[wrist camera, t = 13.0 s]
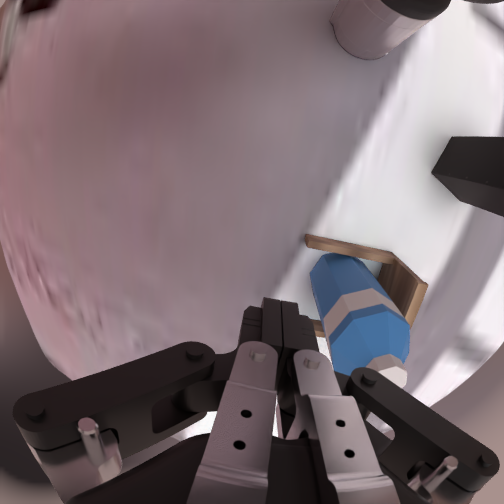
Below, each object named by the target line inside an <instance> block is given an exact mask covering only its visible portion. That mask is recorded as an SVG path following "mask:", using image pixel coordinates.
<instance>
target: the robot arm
mask: <svg viewBox="0 0 504 504" xmlns="http://www.w3.org/2000/svg"><path fill="white" fill-rule="evenodd" d="M464 1H468V2H473V3H482V4H491V3H498V2H502V1H504V0H464ZM450 2H451V0H339V2H338V4H337V6H336V9H335V11H334V13H333V15H332V17H331V19H330V22H331V23H332V25H333V26H334V31H335V35H336V38H337V40H338V42H339V43H340V45H341V46H342V47H343V48H344V49H345V50H346V51H347V52H349V53H350V54H352V55H354V56H356V57H358V58H361V59H366V60H374V59H379V58H381V57H383V56H384V55H385V54H387V53H389V52H390V51H391V50H392V49H393V48H395V47H396V46H397V45H399V44H400V43H401V42H403V41H404V40H405V39H407V38H408V37H409V36H411V35H412V34H413V33H415V32H416V31H417V30H419V29H420V28H421V27H423V26H424V25H425V24H427V23H428V22H430V21H431V20H432V19H434V18H435V17H437V16H438V15H439V14H441V13H442V12H443V11H445V10H446V9H447V7H448V6H449V4H450ZM314 330H315V329H314V325H313V322H312V321H311V320H310V319H309V317H308V316H305V315H299V309H298V304H297V303H293V302H287V301H282V300H281V301H280V300H276V299H271V298H266V297H264V298H263V301H262V305H261V308H259V307H254V306H249V307H248V308H247V309H246V310H245V311H244V315H243V320H242V325H241V330H240V335H239V340H238V346H237V348H236V349H235V350H234V351H232V352H230V353H226V354H215V352H214V351H213V349H212V348H210V347H209V346H207V345H205V344H203V343H200V342H192V341H190V342H184V343H180V344H178V345H175V346H173V347H170V348H167V349H164V350H162V351H159V352H156V353H154V354H151V355H148V356H145V357H142V358H140V359H137V360H134V361H131V362H128V363H125V364H122V365H120V366H117V367H114V368H111V369H108V370H105V371H102V372H99V373H96V374H93V375H89V376H86V377H83V378H80V379H77V380H74V381H71V382H68V383H64V384H61V385H57V386H54V387H51V388H48V389H44V390H41V391H37V392H34V393H30V394H27V395H24V396H22V397H21V398H20V399H18V401H17V402H16V403H15V405H14V407H13V417H14V420H15V422H16V424H17V426H18V427H19V429H20V431H21V433H22V435H23V437H24V439H25V440H26V442H27V444H28V446H29V448H30V449H31V451H32V453H33V454H34V456H35V458H36V459H37V461H38V463H39V464H40V466H41V467H42V469H43V471H44V472H45V473H46V475H47V476H48V477H49V479H50V481H51V482H52V484H53V486H54V488H55V490H56V491H57V493H58V495H59V497H60V498H61V500H62V501H63V503H64V504H469V503H470V502H471V500H472V498H473V496H474V495H475V494H476V493H477V492H478V491H479V490H480V489H481V488H482V487H483V486H484V485H485V484H486V483H487V482H488V481H489V480H490V479H491V478H492V477H493V476H494V475H495V474H496V473H497V472H498V470H499V466H500V464H499V460H498V457H497V456H496V454H495V453H494V452H493V451H492V450H490V449H489V448H488V447H486V446H485V445H483V444H482V443H480V442H479V441H477V440H476V439H474V438H473V437H471V436H469V435H468V434H467V433H465V432H464V431H462V430H461V429H459V428H458V427H456V426H455V425H453V424H452V423H450V422H449V421H448V420H446V419H445V418H443V417H442V416H440V415H439V414H437V413H436V412H434V411H433V410H432V409H430V408H429V407H427V406H426V405H424V404H423V403H421V402H420V401H419V400H417V399H416V398H414V397H413V396H411V395H410V394H409V393H407V392H406V391H404V390H403V389H402V388H400V387H399V386H397V385H396V384H394V383H393V382H392V381H390V380H389V379H387V378H386V377H385V376H383V375H382V374H380V373H379V372H377V371H376V370H373V369H371V368H366V367H359V368H356V369H354V370H353V371H352V373H351V375H350V376H348V375H345V374H342V373H339V372H336V371H334V370H333V368H332V365H331V362H330V360H329V359H328V358H327V357H326V356H325V355H323V354H322V353H320V352H319V348H318V343H317V338H316V334H315V331H314ZM276 396H277V402H278V404H277V406H276ZM275 406H276V418H277V428H278V437H275V436H272V432H273V423H274V415H275ZM211 411H217V415H216V418H215V421H214V424H213V427H212V430H211V433H206V434H201V435H196V436H193V437H190V438H188V439H185V440H183V441H181V442H179V443H177V444H176V445H174V446H172V447H170V448H169V449H167V450H165V451H164V452H162V453H160V454H158V455H157V456H155V457H153V458H151V459H149V460H148V461H146V462H144V463H142V464H140V465H139V466H137V467H135V468H133V469H131V470H129V471H127V472H125V473H123V474H121V475H119V476H117V477H115V476H116V475H118V474H119V472H120V470H121V468H122V459H124V458H127V457H129V456H131V455H133V454H135V453H137V452H140V451H142V450H143V449H146V448H148V447H150V446H152V445H154V444H156V443H158V442H160V441H162V440H164V439H166V438H168V437H170V436H172V435H174V434H175V433H177V432H179V431H181V430H183V429H185V428H187V427H188V426H190V425H192V424H194V423H196V422H198V421H199V420H201V419H203V418H204V417H205V416H206V414H207V412H211ZM370 412H372V413H374V414H375V415H376V416H377V417H379V418H380V419H381V420H383V421H384V422H385V423H387V424H388V425H389V426H390V427H392V428H393V430H394V432H395V438H394V440H390V439H389V438H388V437H386V436H385V435H384V434H383V433H381V432H380V431H379V430H377V429H376V428H375V427H374V426H372V425H371V424H370V423H369V422H367V421H366V419H367V417H368V416H369V414H370ZM114 477H115V478H114ZM112 478H113V479H112Z"/></svg>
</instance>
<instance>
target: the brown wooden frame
mask: <svg viewBox="0 0 504 504" xmlns="http://www.w3.org/2000/svg"><path fill="white" fill-rule="evenodd" d="M305 242H306V245H307V247H308V248H313V249H318V250H323V251H328V252H333V253H338V254H343V255H348V256H353V257H358V258H363V259H368V260H373V261H377V262H382V263H383V265H382V268H381V271H380V274H379V277H378V280H377V281H378V283H379V284H380V285H381V287H382V288H383V289H384V291H385V292H386V293H387V295H388V296H389V297H390V299H391V300H392V301H393V303H394V304H395V305H396V307H397V308H398V310H399V311H400V312H401V314H402V315H403V317H404V318H405V319H406V321H407V322H408V324H409V325H410V329H411V327H412V325H413V322H414V320H415V318H416V315H417V313H418V310H419V308H420V306H421V303H422V301H423V298H424V295H425V293H426V290H427V288H428V284H427V283H426V282H423V281H422V280H421V279H420V278H419V277H418V276H417V275H416V274H415V273H414V272H413V271H412V270H411V269H410V268H409V267H408V266H406V265H405V264H404V263H403V262H402V261H401V260H400V259H399V258H398V257H397V256H396V255H394V254H393V253H392V252H388V251H384V250H379V249H375V248H370V247H365V246H361V245H356V244H352V243H347V242H342V241H337V240H333V239H328V238H323V237H318V236H313V235H308V234H306V237H305ZM310 320H311V321H312V322H313V325H314V329H315V330H314V331H315V334H316V336H317V337H324V338H325V334H324V330H323V326H322V323H321V321H318V320H312V319H310Z"/></svg>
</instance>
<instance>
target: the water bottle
mask: <svg viewBox="0 0 504 504" xmlns="http://www.w3.org/2000/svg"><path fill="white" fill-rule="evenodd" d="M310 277H311V283H312V288H313V294H314V297H315V301H316V305H317V308H318V312H319V315H320V319H321V323H322V326H323V330H324V334H325V338H326V341H327V345H328V349H329V353H330V357H331V361H332V365H333V369H334V371H336V372H339V373H342V374H345V375H348V376H350V375H351V373H352V371H353V370H354V369H356V368H359V367H366V368H371V369H373V370H376V371H377V372H379V373H380V374H382V375H383V376H385V377H386V378H387V379H389V380H390V381H392V382H393V383H394V384H396V385H397V386H399V387H400V388H403V387H404V386H405V385H406V379H407V371H406V369H405V367H404V365H403V364H404V362H405V360H406V358H407V356H408V353H409V343H410V325H409V324H408V322H407V321H406V319H405V318H404V317H403V315H402V314H401V312H400V311H399V310H398V308H397V307H396V305H395V304H394V303H393V301H392V300H391V299H390V297H389V296H388V295H387V293H386V292H385V291H384V289H383V288H382V287H381V285H380V284H379V283H378V281H377V280H376V279H375V277H374V276H373V275H372V273H371V272H370V271H369V270H368V268H367V267H366V266H365V264H364V263H363V262H362V261H361V260H359V259H358V258H356V257H353V256H348V255H343V254H338V253H329V254H325V255H322V257H321V258H320V260H319V261H318V263H317V264H316V265H315V267H314V268H313V270H312V271H311V272H310Z"/></svg>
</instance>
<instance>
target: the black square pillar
mask: <svg viewBox="0 0 504 504" xmlns="http://www.w3.org/2000/svg"><path fill="white" fill-rule="evenodd" d="M432 174H433V175H434V176H435V177H436V178H437V179H438V180H439V181H440V182H441V183H442V184H443V185H444V186H446V187H447V188H448V189H449V190H450V191H451V192H452V193H453V194H454V195H455V196H456V197H457V198H458V199H459V201H461V202H464V203H467V204H470V205H473V206H476V207H479V208H481V209H484V210H487V211H489V212H492V213H495V214H497V215H500V216H503V217H504V137H452V138H451V139H450V141H449V143H448V145H447V146H446V148H445V150H444V152H443V154H442V155H441V157H440V159H439V160H438V162H437V164H436V166H435V167H434V169H433V171H432Z"/></svg>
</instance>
